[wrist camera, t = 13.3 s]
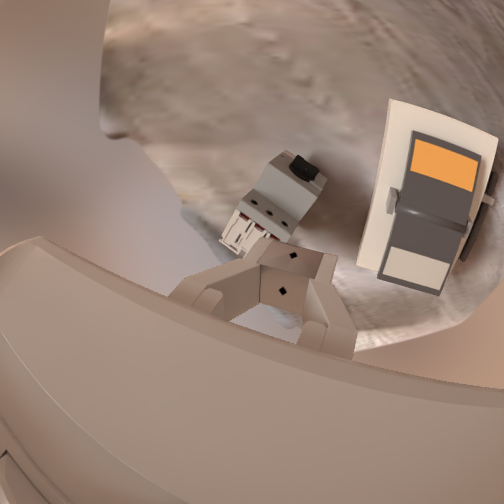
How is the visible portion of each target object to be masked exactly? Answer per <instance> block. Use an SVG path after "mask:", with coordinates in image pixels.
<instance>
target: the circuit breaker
mask: <svg viewBox="0 0 504 504" xmlns="http://www.w3.org/2000/svg"><path fill="white" fill-rule="evenodd" d="M326 181H327V178H326V177H324V176H323V175H321V174H320V173H319V169H318V168H316V167H315V166H313V165H311V164H310V163H308V162H307V161H305V160H304V158H302V157H301V156H299V155H297V156H294V155H293V154H291V153H290V152H288V151H287V150H285V151H284V152H282V153H281V154H280V155H278V156H277V157H276V158H274V159H273V160H272V161H270V162H269V163H268V164H267V166H266V168H265V169H264V171H263V173H262V175H261V176H260V178H259V180H258V181H257V183H256V185H255V187H254V188H253V189H252V190H251V191H250V192H249V193H248V194H247V195H246V196H245V197H243V198H242V199H241V201H240V202H239V204H238V206H237V208H236V210H235V211H234V213H233V215H232V217H231V219H230V221H229V222H228V224H227V226H226V228H225V230H224V232H223V234H222V237H224V238H223V239H221V238H220V239H219V241H220V242H221V243H223V244H224V245H225V246H227V247H228V248H229V249H231V250H232V251H234V252H235V253H236V254H239V253H240V252H241V250H243V251H245V252H246V254H247V253H248V252H249V250H250V249H251V248H252V246H253V245H254V244H255V243H256V241H257V240H258V239H259V238H260V237H266V238H270V239H273V240H277V241H281V242H284V243H286V241H287V240H288V239H289V238H290V236H291V235H292V233H293V232H294V230H295V228H296V227H297V225H298V223H299V221H300V220H301V219H302V218H303V216H304V215H305V214H306V212H307V211H308V210H309V208H310V207H311V206H312V204H313V203H314V202H315V201H316V199H317V198H318V196H319V194H320V193H321V191H322V190H323V187H324V185H325V183H326ZM231 245H233V246H234V247H236V248H237V249H235V248H234V247H232V246H231ZM246 254H245V256H246ZM245 256H244V257H245ZM244 257H243V258H244Z"/></svg>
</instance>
